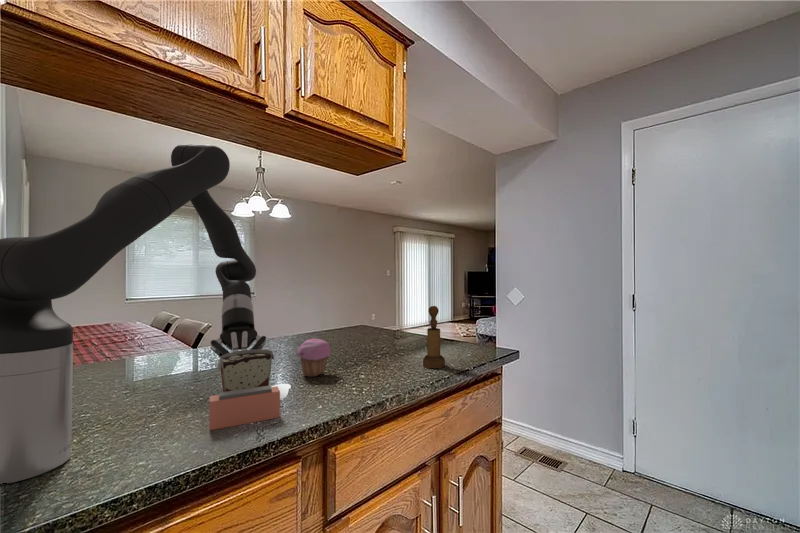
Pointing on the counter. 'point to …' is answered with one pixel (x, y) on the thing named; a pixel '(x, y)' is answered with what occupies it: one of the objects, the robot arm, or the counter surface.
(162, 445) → the counter surface
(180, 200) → the robot arm
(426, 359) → the brown tall knobbed column
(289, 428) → the counter surface
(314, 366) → the cupcake
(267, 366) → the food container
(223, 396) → the pink and grey block
